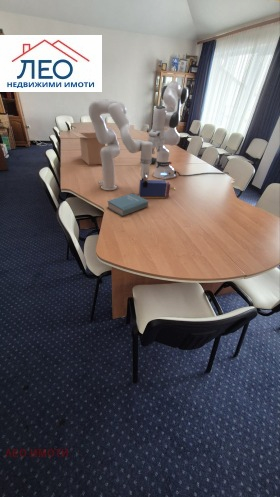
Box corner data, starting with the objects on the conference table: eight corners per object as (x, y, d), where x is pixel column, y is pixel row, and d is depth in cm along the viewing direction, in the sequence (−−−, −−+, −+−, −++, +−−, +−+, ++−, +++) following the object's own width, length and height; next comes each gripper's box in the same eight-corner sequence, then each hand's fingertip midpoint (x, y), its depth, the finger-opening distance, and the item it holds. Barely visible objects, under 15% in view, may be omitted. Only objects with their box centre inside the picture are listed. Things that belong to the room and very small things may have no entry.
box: (116, 165, 229) (116, 136, 213) (83, 168, 214) (80, 137, 198) (102, 154, 259) (101, 128, 243) (71, 156, 244) (68, 129, 228)
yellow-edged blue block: (163, 194, 175) (165, 180, 168) (164, 198, 170) (166, 183, 163) (138, 194, 172) (139, 179, 165) (139, 197, 167) (140, 182, 160)
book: (132, 199, 164) (132, 193, 161) (147, 207, 155) (148, 200, 152) (107, 207, 150) (107, 200, 147) (123, 216, 141) (123, 209, 138)
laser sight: (159, 165, 238) (161, 156, 232) (139, 163, 241) (140, 153, 235) (161, 163, 246) (162, 153, 240) (141, 161, 248) (141, 151, 242)
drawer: (173, 194, 175) (175, 182, 169) (174, 196, 170) (176, 184, 165) (144, 193, 172) (145, 181, 166) (145, 196, 168) (146, 183, 162)
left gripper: (139, 157, 161) (138, 180, 171) (142, 164, 147) (140, 189, 157) (149, 157, 162) (147, 180, 172) (153, 164, 148) (150, 189, 158)
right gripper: (159, 130, 167) (157, 150, 175) (147, 133, 152) (145, 154, 160) (167, 131, 165) (165, 151, 173) (155, 134, 150) (153, 155, 158)
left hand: (144, 184), depth 165 cm, fingers open, 9 cm apart
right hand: (155, 152), depth 167 cm, fingers open, 8 cm apart
